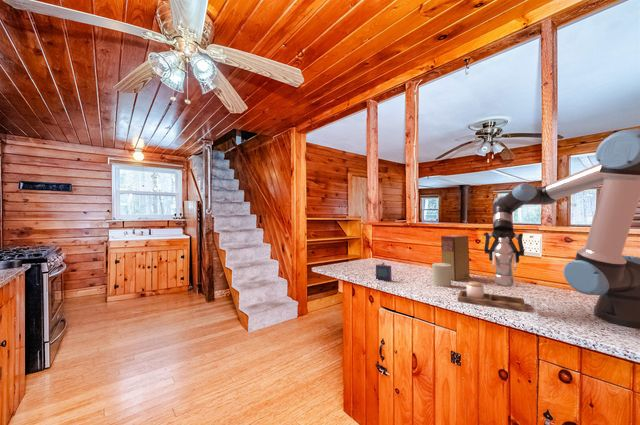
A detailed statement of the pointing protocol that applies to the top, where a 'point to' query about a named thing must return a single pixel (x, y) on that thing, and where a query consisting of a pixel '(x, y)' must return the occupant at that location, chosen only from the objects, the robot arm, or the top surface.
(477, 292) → the jar
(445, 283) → the can
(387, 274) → the flask
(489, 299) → the caddy
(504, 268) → the plastic bottle
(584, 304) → the top surface
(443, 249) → the food packaging
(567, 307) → the top surface
